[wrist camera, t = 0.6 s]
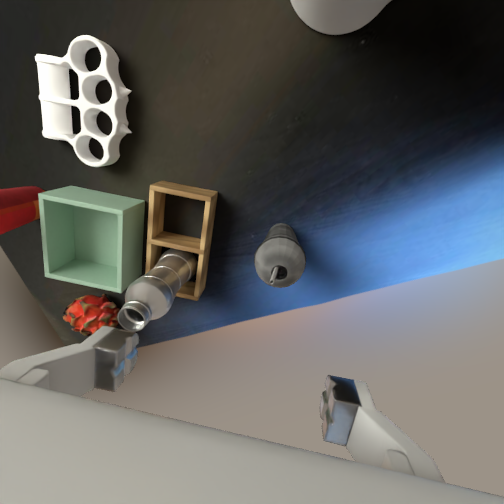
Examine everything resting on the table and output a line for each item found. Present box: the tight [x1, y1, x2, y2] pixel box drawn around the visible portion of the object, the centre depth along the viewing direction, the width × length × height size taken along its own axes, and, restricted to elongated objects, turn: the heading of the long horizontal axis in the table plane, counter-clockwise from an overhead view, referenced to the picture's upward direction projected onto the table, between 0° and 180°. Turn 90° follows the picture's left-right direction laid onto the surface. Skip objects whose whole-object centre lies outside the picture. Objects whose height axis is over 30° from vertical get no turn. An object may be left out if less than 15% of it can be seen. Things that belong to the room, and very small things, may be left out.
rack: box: [145, 181, 218, 301], centre depth 53 cm, size 19×10×5 cm, turn 170°
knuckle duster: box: [35, 35, 132, 167], centre depth 47 cm, size 3×18×15 cm
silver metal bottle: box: [117, 248, 197, 332], centre depth 48 cm, size 6×7×20 cm
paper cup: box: [0, 186, 45, 235], centre depth 49 cm, size 8×8×14 cm
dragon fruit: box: [63, 294, 121, 336], centre depth 59 cm, size 8×8×12 cm
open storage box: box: [38, 186, 145, 293], centre depth 53 cm, size 15×14×8 cm
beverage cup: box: [254, 223, 306, 288], centre depth 44 cm, size 7×7×20 cm
